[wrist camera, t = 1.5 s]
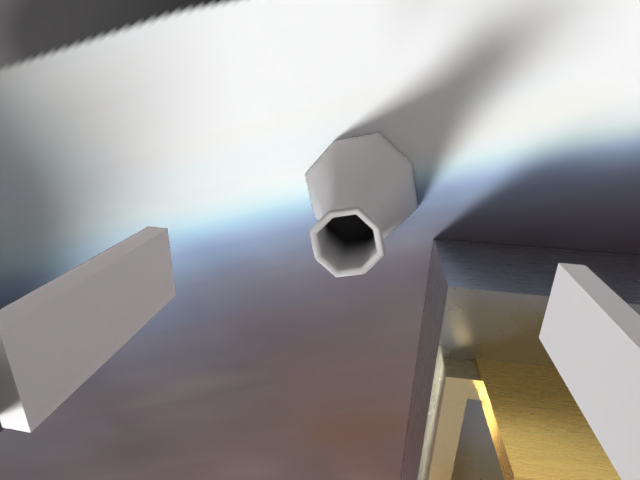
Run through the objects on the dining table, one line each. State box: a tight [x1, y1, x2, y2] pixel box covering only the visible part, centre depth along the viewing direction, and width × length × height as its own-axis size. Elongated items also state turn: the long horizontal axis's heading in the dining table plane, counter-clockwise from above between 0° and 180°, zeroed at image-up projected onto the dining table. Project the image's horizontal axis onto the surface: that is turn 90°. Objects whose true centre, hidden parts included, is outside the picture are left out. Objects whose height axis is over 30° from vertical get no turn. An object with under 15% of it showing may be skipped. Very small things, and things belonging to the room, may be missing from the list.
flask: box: [305, 132, 418, 277], centre depth 22 cm, size 7×7×10 cm
